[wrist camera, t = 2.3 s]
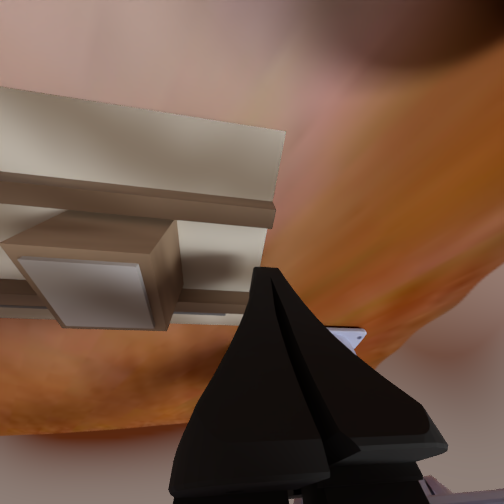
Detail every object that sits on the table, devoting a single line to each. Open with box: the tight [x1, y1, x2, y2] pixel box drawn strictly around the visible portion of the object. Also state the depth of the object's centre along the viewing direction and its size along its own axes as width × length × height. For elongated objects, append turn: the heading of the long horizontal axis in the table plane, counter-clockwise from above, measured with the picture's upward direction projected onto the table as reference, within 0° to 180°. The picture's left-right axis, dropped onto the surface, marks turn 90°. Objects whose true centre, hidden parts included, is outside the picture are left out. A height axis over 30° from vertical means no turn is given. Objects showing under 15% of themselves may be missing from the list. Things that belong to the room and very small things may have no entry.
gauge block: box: [0, 210, 184, 331], centre depth 9 cm, size 5×5×4 cm
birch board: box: [0, 87, 286, 325], centre depth 10 cm, size 14×24×2 cm, turn 83°
